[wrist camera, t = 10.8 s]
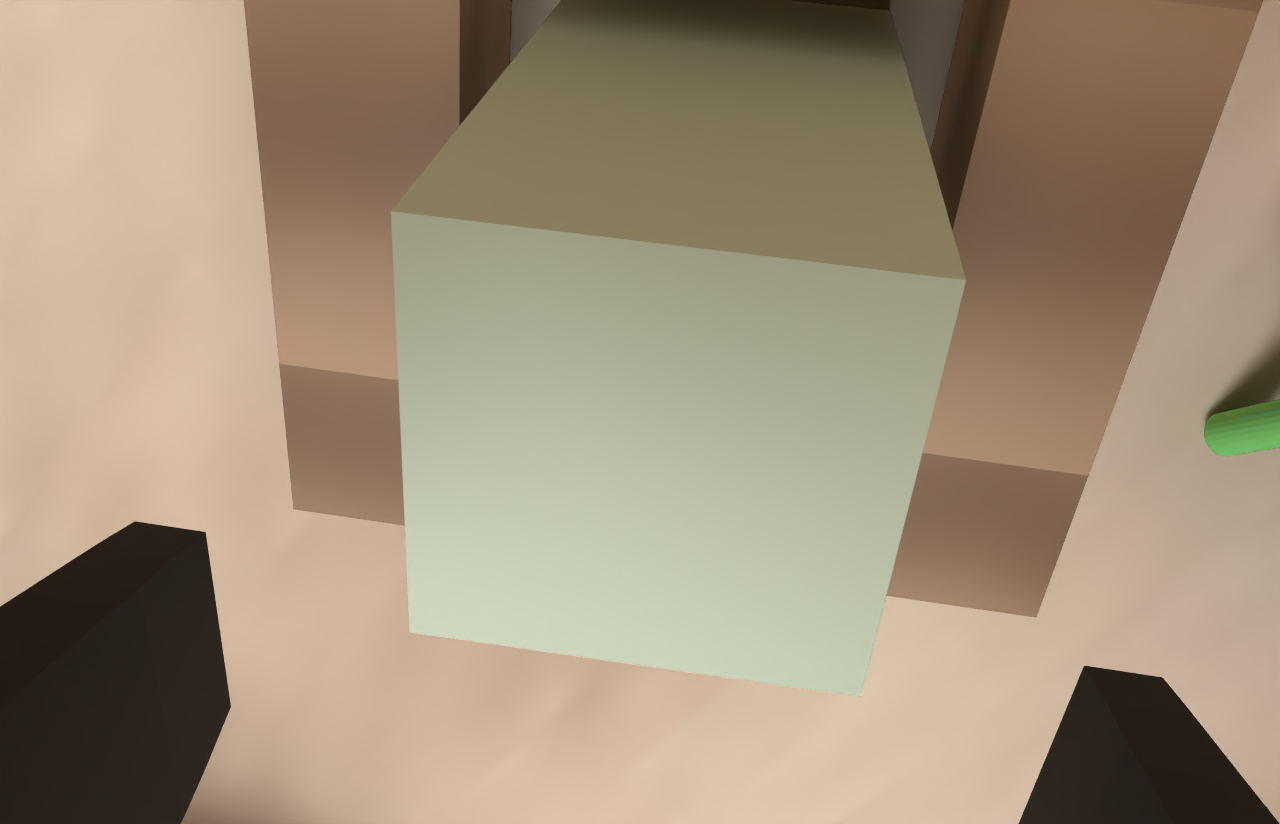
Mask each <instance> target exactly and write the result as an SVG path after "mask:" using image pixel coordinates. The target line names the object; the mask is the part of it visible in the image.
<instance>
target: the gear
mask: <svg viewBox="0 0 1280 824" xmlns="http://www.w3.org/2000/svg"><path fill="white" fill-rule="evenodd" d="M1204 437H1205V440H1206V443H1207V444H1208V446H1209V448H1210V449H1211V450H1212V451H1213V452H1215V453H1216V454H1218V455H1221V456H1231V455H1237V454H1243V453H1250V452H1256V451H1262V450H1268V449H1274V448H1280V399H1279V400H1275V401H1270V402H1266V403H1261V404H1256V405H1252V406H1247V407H1243V408H1238V409H1234V410H1229V411H1224V412H1220V413H1216V414H1214V415H1212V416H1210V418H1209V419H1208V420H1207V422H1206V424H1205V428H1204Z"/></svg>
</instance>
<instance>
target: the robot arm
mask: <svg viewBox="0 0 1280 824" xmlns="http://www.w3.org/2000/svg"><path fill="white" fill-rule="evenodd" d="M230 708H231V705H230V698H229V691H228V684H227V677H226V670H225V663H224V656H223V649H222V642H221V636H220V629H219V622H218V615H217V608H216V601H215V594H214V587H213V580H212V573H211V567H210V560H209V553H208V546H207V539H206V532H201V531H194V530H188V529H181V528H175V527H168V526H161V525H155V524H148V523H142V522H133V523H132V524H130V525H128V526H127V527H125V528H123V529H122V530H120V531H118V532H116V533H115V534H113V535H111V536H110V537H108V538H107V539H105V540H103V541H102V542H100V543H99V544H97V545H95V546H94V547H92V548H91V549H89V550H87V551H86V552H84V553H83V554H81V555H80V556H78V557H76V558H75V559H73V560H72V561H70V562H69V563H67V564H66V565H64V566H62V567H61V568H59V569H58V570H56V571H55V572H53V573H52V574H50V575H49V576H47V577H45V578H44V579H42V580H41V581H39V582H38V583H36V584H35V585H33V586H32V587H30V588H28V589H27V590H25V591H24V592H22V593H21V594H19V595H18V596H16V597H15V598H13V599H11V600H10V601H8V602H7V603H5V604H4V605H2V606H1V607H0V824H180V823H181V821H182V820H183V818H184V816H185V813H186V811H187V809H188V807H189V804H190V802H191V800H192V797H193V795H194V793H195V791H196V788H197V786H198V784H199V782H200V779H201V777H202V775H203V773H204V770H205V768H206V766H207V763H208V761H209V759H210V756H211V754H212V751H213V749H214V746H215V744H216V742H217V739H218V737H219V734H220V732H221V729H222V727H223V725H224V722H225V720H226V717H227V715H228V712H229V710H230ZM1019 824H1279V822H1278V821H1277V820H1276V819H1275V817H1274V816H1273V815H1272V814H1271V812H1270V811H1269V810H1268V809H1267V807H1266V806H1265V805H1264V804H1263V802H1262V801H1261V800H1260V799H1259V797H1258V796H1257V795H1256V794H1255V792H1254V791H1253V790H1252V789H1251V787H1250V786H1249V785H1248V784H1247V782H1246V781H1245V780H1244V779H1243V777H1242V776H1241V775H1240V774H1239V772H1238V771H1237V770H1236V768H1235V767H1234V766H1233V765H1232V763H1231V762H1230V761H1229V760H1228V758H1227V757H1226V756H1225V755H1224V753H1223V752H1222V751H1221V750H1220V748H1219V747H1218V746H1217V744H1216V743H1215V742H1214V741H1213V739H1212V738H1211V737H1210V736H1209V734H1208V733H1207V732H1206V731H1205V729H1204V728H1203V727H1202V725H1201V724H1200V723H1199V722H1198V720H1197V719H1196V718H1195V717H1194V715H1193V714H1192V713H1191V712H1190V710H1189V709H1188V708H1187V707H1186V705H1185V704H1184V703H1183V702H1182V701H1181V699H1180V698H1179V697H1178V696H1177V694H1176V693H1175V692H1174V691H1173V690H1172V688H1171V687H1170V686H1169V685H1168V684H1167V682H1166V681H1165V680H1164V679H1163V678H1162V677H1156V676H1149V675H1142V674H1136V673H1129V672H1123V671H1116V670H1109V669H1103V668H1096V667H1090V666H1084V668H1083V670H1082V672H1081V675H1080V677H1079V680H1078V682H1077V684H1076V687H1075V689H1074V692H1073V694H1072V697H1071V699H1070V701H1069V704H1068V706H1067V709H1066V711H1065V713H1064V716H1063V718H1062V721H1061V723H1060V725H1059V728H1058V730H1057V733H1056V735H1055V738H1054V740H1053V742H1052V745H1051V747H1050V750H1049V752H1048V754H1047V757H1046V759H1045V762H1044V764H1043V766H1042V769H1041V771H1040V774H1039V776H1038V779H1037V781H1036V783H1035V786H1034V788H1033V791H1032V793H1031V795H1030V798H1029V800H1028V803H1027V805H1026V807H1025V810H1024V812H1023V815H1022V817H1021V820H1020V822H1019Z"/></svg>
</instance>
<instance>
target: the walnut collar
mask: <svg viewBox="0 0 1280 824" xmlns="http://www.w3.org/2000/svg"><path fill="white" fill-rule="evenodd" d="M1262 2H1263V0H966V2H965V6H964V10H963V15H962V19H961V23H960V27H959V32H958V36H957V40H956V45H955V49H954V53H953V58H952V62H951V66H950V71H949V75H948V79H947V83H946V88H945V92H944V96H943V101H942V105H941V109H940V114H939V118H938V122H937V127H936V131H935V135H934V139H933V144H932V148H931V152H930V154H931V158H932V161H933V165H934V168H935V172H936V175H937V179H938V182H939V186H940V189H941V193H942V196H943V200H944V204H945V207H946V211H947V214H948V218H949V221H950V225H951V228H952V232H953V235H954V239H955V242H956V246H957V249H958V253H959V257H960V260H961V264H962V267H963V271H964V274H965V278H966V283H965V287H964V291H963V295H962V299H961V303H960V307H959V311H958V315H957V319H956V323H955V326H954V330H953V334H952V338H951V342H950V346H949V350H948V354H947V358H946V362H945V366H944V370H943V374H942V378H941V382H940V386H939V390H938V394H937V397H936V401H935V405H934V409H933V413H932V417H931V421H930V425H929V429H928V433H927V437H926V441H925V445H924V449H923V453H922V457H921V461H920V465H919V468H918V472H917V476H916V480H915V484H914V488H913V492H912V496H911V500H910V504H909V508H908V512H907V516H906V520H905V524H904V528H903V532H902V536H901V539H900V543H899V547H898V551H897V555H896V559H895V563H894V567H893V571H892V575H891V579H890V583H889V587H888V591H887V595H886V596H893V597H900V598H907V599H913V600H920V601H927V602H934V603H941V604H948V605H955V606H961V607H968V608H975V609H982V610H989V611H996V612H1003V613H1010V614H1016V615H1023V616H1030V617H1037V614H1038V611H1039V608H1040V606H1041V603H1042V600H1043V598H1044V595H1045V592H1046V589H1047V587H1048V584H1049V581H1050V579H1051V576H1052V573H1053V570H1054V568H1055V565H1056V562H1057V559H1058V557H1059V554H1060V551H1061V549H1062V546H1063V543H1064V540H1065V538H1066V535H1067V532H1068V530H1069V527H1070V524H1071V521H1072V519H1073V516H1074V513H1075V511H1076V508H1077V505H1078V502H1079V500H1080V497H1081V494H1082V492H1083V489H1084V486H1085V483H1086V481H1087V478H1088V475H1089V472H1090V470H1091V467H1092V464H1093V462H1094V459H1095V456H1096V453H1097V451H1098V448H1099V445H1100V443H1101V440H1102V437H1103V434H1104V432H1105V429H1106V426H1107V424H1108V421H1109V418H1110V415H1111V413H1112V410H1113V407H1114V405H1115V402H1116V399H1117V396H1118V394H1119V391H1120V388H1121V386H1122V383H1123V380H1124V377H1125V375H1126V372H1127V369H1128V366H1129V364H1130V361H1131V358H1132V356H1133V353H1134V350H1135V347H1136V345H1137V342H1138V339H1139V337H1140V334H1141V331H1142V328H1143V326H1144V323H1145V320H1146V318H1147V315H1148V312H1149V309H1150V307H1151V304H1152V301H1153V299H1154V296H1155V293H1156V290H1157V288H1158V285H1159V282H1160V279H1161V277H1162V274H1163V271H1164V269H1165V266H1166V263H1167V260H1168V258H1169V255H1170V252H1171V250H1172V247H1173V244H1174V241H1175V239H1176V236H1177V233H1178V231H1179V228H1180V225H1181V222H1182V220H1183V217H1184V214H1185V212H1186V209H1187V206H1188V203H1189V201H1190V198H1191V195H1192V193H1193V190H1194V187H1195V184H1196V182H1197V179H1198V176H1199V173H1200V171H1201V168H1202V165H1203V163H1204V160H1205V157H1206V154H1207V152H1208V149H1209V146H1210V144H1211V141H1212V138H1213V135H1214V133H1215V130H1216V127H1217V125H1218V122H1219V119H1220V116H1221V114H1222V111H1223V108H1224V106H1225V103H1226V100H1227V97H1228V95H1229V92H1230V89H1231V86H1232V84H1233V81H1234V78H1235V76H1236V73H1237V70H1238V67H1239V65H1240V62H1241V59H1242V57H1243V54H1244V51H1245V48H1246V46H1247V43H1248V40H1249V38H1250V35H1251V32H1252V29H1253V27H1254V24H1255V21H1256V19H1257V16H1258V13H1259V10H1260V8H1261V5H1262ZM244 6H245V16H246V26H247V37H248V47H249V57H250V67H251V78H252V88H253V98H254V108H255V119H256V129H257V139H258V150H259V160H260V170H261V180H262V191H263V201H264V211H265V222H266V232H267V242H268V252H269V263H270V273H271V283H272V293H273V304H274V314H275V324H276V335H277V345H278V355H279V365H280V376H281V386H282V396H283V406H284V417H285V427H286V437H287V448H288V458H289V468H290V478H291V489H292V499H293V509H295V510H302V511H309V512H316V513H323V514H330V515H337V516H344V517H350V518H357V519H364V520H371V521H378V522H385V523H392V524H398V525H405V518H404V496H403V473H402V451H401V429H400V406H399V384H398V362H397V339H396V317H395V295H394V272H393V250H392V228H391V210H392V209H393V208H394V207H395V205H396V204H397V203H398V202H399V200H400V199H401V198H402V197H403V195H404V194H405V193H406V192H407V191H408V189H409V188H410V187H411V186H412V184H413V183H414V182H415V181H416V179H417V178H418V177H419V176H420V174H421V173H422V172H423V171H424V170H425V168H426V167H427V166H428V165H429V163H430V162H431V161H432V160H433V158H434V157H435V156H436V155H437V153H438V152H439V151H440V150H441V148H442V147H443V146H444V145H445V144H446V142H447V141H448V140H449V139H450V137H451V136H452V135H453V134H454V132H455V131H456V130H457V129H458V127H459V126H460V125H461V124H462V123H463V121H464V120H465V119H466V118H467V116H468V115H469V114H470V113H471V111H472V110H473V109H474V108H475V106H476V105H477V104H478V103H479V101H480V100H481V99H482V98H483V97H484V95H485V94H486V93H487V92H488V90H489V89H490V88H491V87H492V85H493V84H494V83H495V82H496V80H497V79H498V78H499V77H500V76H501V74H502V73H503V72H504V71H505V69H506V68H507V67H508V66H509V62H510V21H511V0H244Z"/></svg>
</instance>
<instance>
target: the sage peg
mask: <svg viewBox="0 0 1280 824" xmlns="http://www.w3.org/2000/svg"><path fill="white" fill-rule="evenodd" d="M391 228H392V250H393V272H394V295H395V317H396V339H397V362H398V384H399V406H400V429H401V451H402V473H403V496H404V518H405V540H406V563H407V585H408V607H409V630H410V633H417V634H424V635H431V636H438V637H445V638H452V639H459V640H466V641H473V642H480V643H487V644H494V645H501V646H508V647H515V648H522V649H529V650H536V651H543V652H550V653H557V654H564V655H571V656H578V657H585V658H592V659H599V660H606V661H613V662H620V663H627V664H634V665H641V666H648V667H655V668H662V669H669V670H676V671H683V672H690V673H697V674H704V675H711V676H718V677H725V678H732V679H739V680H746V681H753V682H760V683H767V684H774V685H781V686H788V687H795V688H802V689H809V690H816V691H823V692H830V693H837V694H844V695H851V696H858V697H861V693H862V689H863V685H864V681H865V677H866V674H867V670H868V666H869V662H870V658H871V654H872V650H873V646H874V642H875V638H876V634H877V630H878V626H879V622H880V618H881V614H882V610H883V606H884V603H885V599H886V595H887V591H888V587H889V583H890V579H891V575H892V571H893V567H894V563H895V559H896V555H897V551H898V547H899V543H900V539H901V536H902V532H903V528H904V524H905V520H906V516H907V512H908V508H909V504H910V500H911V496H912V492H913V488H914V484H915V480H916V476H917V472H918V468H919V465H920V461H921V457H922V453H923V449H924V445H925V441H926V437H927V433H928V429H929V425H930V421H931V417H932V413H933V409H934V405H935V401H936V397H937V394H938V390H939V386H940V382H941V378H942V374H943V370H944V366H945V362H946V358H947V354H948V350H949V346H950V342H951V338H952V334H953V330H954V326H955V323H956V319H957V315H958V311H959V307H960V303H961V299H962V295H963V291H964V287H965V283H966V278H965V274H964V271H963V267H962V264H961V260H960V257H959V253H958V249H957V246H956V242H955V239H954V235H953V232H952V228H951V225H950V221H949V218H948V214H947V211H946V207H945V204H944V200H943V196H942V193H941V189H940V186H939V182H938V179H937V175H936V172H935V168H934V165H933V161H932V158H931V154H930V151H929V147H928V144H927V140H926V136H925V133H924V129H923V126H922V122H921V119H920V115H919V112H918V108H917V105H916V101H915V98H914V94H913V91H912V87H911V83H910V80H909V76H908V73H907V69H906V66H905V62H904V59H903V55H902V52H901V48H900V45H899V41H898V38H897V34H896V30H895V27H894V23H893V20H892V16H891V13H890V11H887V10H878V9H868V8H859V7H849V6H840V5H830V4H821V3H812V2H802V1H793V0H561V1H560V3H559V4H558V5H557V6H556V7H555V9H554V10H553V11H552V12H551V14H550V15H549V16H548V17H547V19H546V20H545V21H544V22H543V24H542V25H541V26H540V27H539V29H538V30H537V31H536V32H535V33H534V35H533V36H532V37H531V38H530V40H529V41H528V42H527V43H526V45H525V46H524V47H523V48H522V50H521V51H520V52H519V53H518V54H517V56H516V57H515V58H514V59H513V61H512V62H511V63H510V64H509V66H508V67H507V68H506V69H505V71H504V72H503V73H502V74H501V76H500V77H499V78H498V79H497V80H496V82H495V83H494V84H493V85H492V87H491V88H490V89H489V90H488V92H487V93H486V94H485V95H484V97H483V98H482V99H481V100H480V101H479V103H478V104H477V105H476V106H475V108H474V109H473V110H472V111H471V113H470V114H469V115H468V116H467V118H466V119H465V120H464V121H463V123H462V124H461V125H460V126H459V127H458V129H457V130H456V131H455V132H454V134H453V135H452V136H451V137H450V139H449V140H448V141H447V142H446V144H445V145H444V146H443V147H442V148H441V150H440V151H439V152H438V153H437V155H436V156H435V157H434V158H433V160H432V161H431V162H430V163H429V165H428V166H427V167H426V168H425V170H424V171H423V172H422V173H421V174H420V176H419V177H418V178H417V179H416V181H415V182H414V183H413V184H412V186H411V187H410V188H409V189H408V191H407V192H406V193H405V194H404V195H403V197H402V198H401V199H400V200H399V202H398V203H397V204H396V205H395V207H394V208H393V209H392V210H391Z"/></svg>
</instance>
